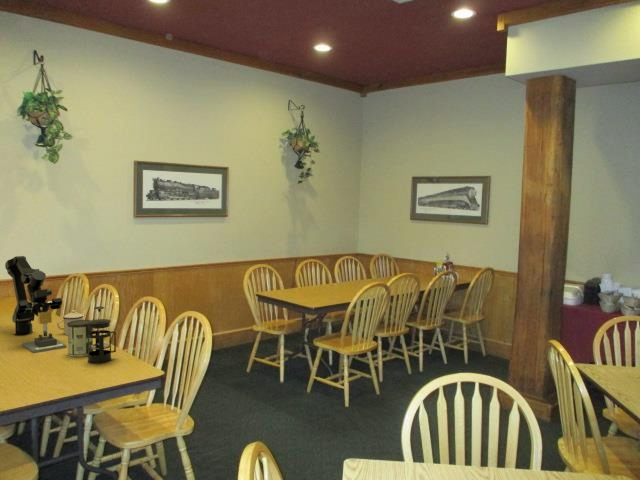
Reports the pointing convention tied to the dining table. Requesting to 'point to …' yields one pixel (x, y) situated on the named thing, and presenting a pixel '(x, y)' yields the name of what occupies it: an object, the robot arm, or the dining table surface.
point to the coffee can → (79, 338)
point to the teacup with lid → (69, 320)
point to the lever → (44, 320)
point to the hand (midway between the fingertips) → (44, 320)
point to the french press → (100, 341)
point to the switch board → (32, 347)
